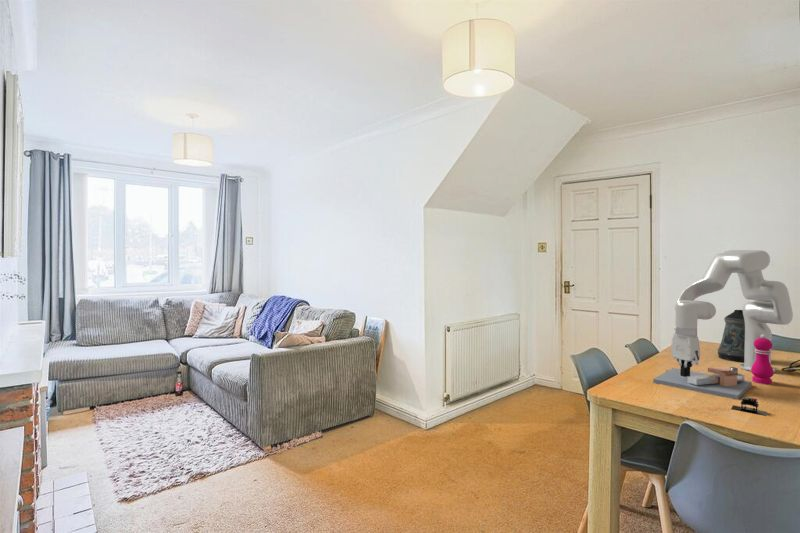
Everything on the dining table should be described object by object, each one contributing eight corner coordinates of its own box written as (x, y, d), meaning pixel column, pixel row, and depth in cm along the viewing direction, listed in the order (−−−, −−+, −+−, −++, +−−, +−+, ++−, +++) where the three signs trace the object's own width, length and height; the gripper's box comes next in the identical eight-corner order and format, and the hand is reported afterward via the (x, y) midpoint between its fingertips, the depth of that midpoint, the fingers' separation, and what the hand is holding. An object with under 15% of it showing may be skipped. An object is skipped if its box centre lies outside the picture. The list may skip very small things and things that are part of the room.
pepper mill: (777, 385, 175) (778, 336, 174) (757, 384, 176) (758, 335, 175) (766, 380, 182) (767, 333, 181) (746, 379, 183) (748, 332, 183)
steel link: (732, 377, 178) (732, 365, 178) (746, 381, 172) (747, 369, 172) (685, 381, 173) (685, 369, 172) (698, 385, 167) (699, 373, 167)
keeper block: (719, 383, 176) (719, 367, 176) (736, 389, 169) (737, 371, 169) (707, 384, 175) (707, 367, 175) (724, 390, 168) (724, 372, 168)
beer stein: (710, 357, 223) (711, 309, 222) (732, 353, 231) (734, 307, 230) (746, 364, 208) (747, 313, 207) (769, 360, 216) (770, 311, 215)
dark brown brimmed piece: (725, 410, 148) (725, 397, 147) (728, 405, 153) (728, 392, 153) (772, 420, 139) (773, 406, 139) (774, 414, 144) (774, 400, 144)
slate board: (672, 371, 195) (673, 368, 195) (751, 385, 174) (751, 381, 174) (653, 382, 178) (653, 378, 178) (737, 399, 157) (737, 395, 157)
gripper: (663, 329, 183) (662, 371, 184) (694, 335, 169) (693, 381, 169) (678, 328, 185) (677, 370, 185) (710, 334, 170) (709, 380, 171)
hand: (685, 376), depth 177 cm, fingers closed
